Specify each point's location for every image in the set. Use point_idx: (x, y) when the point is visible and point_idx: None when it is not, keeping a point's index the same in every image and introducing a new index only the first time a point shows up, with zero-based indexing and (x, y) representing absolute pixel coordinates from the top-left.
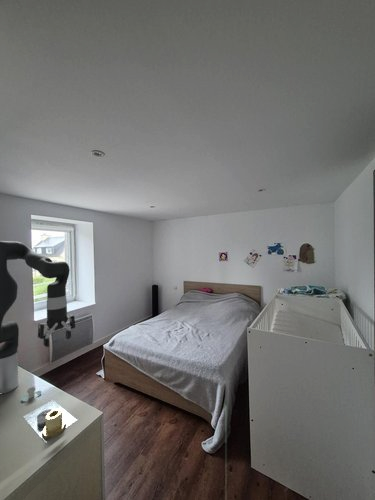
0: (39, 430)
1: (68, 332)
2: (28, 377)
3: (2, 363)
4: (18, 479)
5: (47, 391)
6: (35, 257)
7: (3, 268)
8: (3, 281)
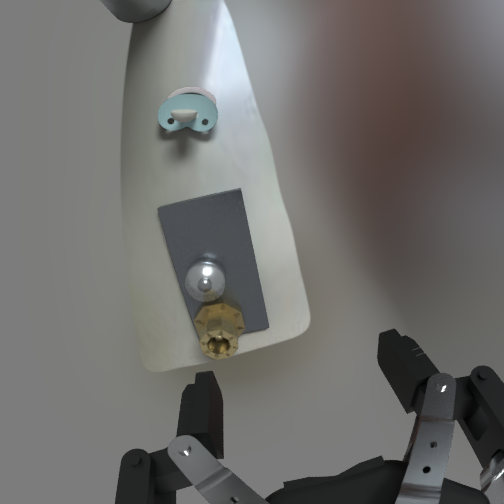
0: (190, 298)
1: (405, 407)
2: None
3: None
4: (158, 364)
5: (240, 106)
6: None
7: None
8: None
